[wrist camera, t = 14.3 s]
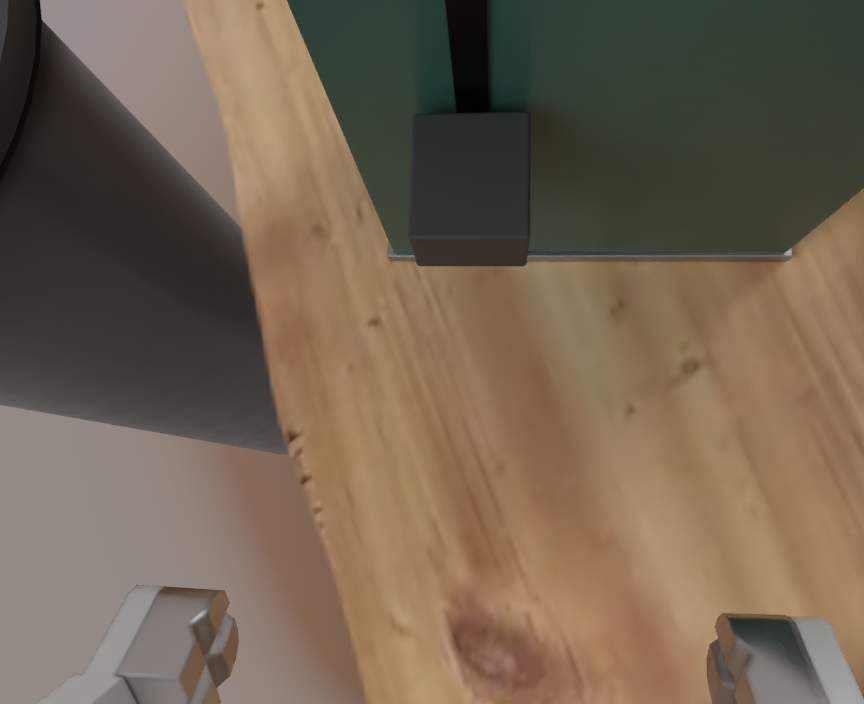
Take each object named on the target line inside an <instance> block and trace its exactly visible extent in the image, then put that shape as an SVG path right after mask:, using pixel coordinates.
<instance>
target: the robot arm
mask: <svg viewBox="0 0 864 704" xmlns="http://www.w3.org/2000/svg"><path fill="white" fill-rule="evenodd" d="M228 605H229V601H228V598H227V596H226V593H225V591H224V590H208V589H192V588H176V587H165V586H144V585H136V586H135V587H134V588H133V589H132V590H131V591H130V592H129V593H128V594H127V596H126V598H125V599H124V601H123V603H122V605H121V607H120V608H119V610H118V612H117V614H116V616H115V618H114V619H113V621H112V623H111V625H110V627H109V628H108V630H107V632H106V634H105V636H104V637H103V639H102V641H101V643H100V645H99V646H98V648H97V650H96V652H95V654H94V656H93V657H92V659H91V661H90V663H89V665H88V666H87V668H86V670H85V672H84V673H83V674H74V675H73V676H71V677H70V678H69V679H68V680H66V681H65V682H64V683H62V684H61V685H60V686H59V687H57V688H56V689H55V690H54V691H52V692H51V693H50V694H48V695H47V696H46V697H45V698H43V699H42V700H41V701H39V702H38V703H37V704H220V703H221V701H220V698H219V695H218V692H217V687H218V686H219V685H221V684H222V683H223V682H224V681H225V680H226V679H227V678H228V677H229V676H230V674H231V671H232V668H233V665H234V662H235V660H236V654H237V647H238V628H237V625H236V621H235V619H234V618H232V617H231V616H230V615H229V614H227V613H226V610H227V608H228ZM715 628H716V632H717V635H718V639H717V640H715V641H714V642H712V643H711V644H710V646H709V650H708V655H707V679H708V685H709V691H710V695H711V699H712V703H713V704H864V698H863V695H862V693H861V691H860V689H859V687H858V685H857V682H856V680H855V678H854V676H853V674H852V672H851V669H850V667H849V665H848V663H847V661H846V659H845V656H844V654H843V652H842V650H841V648H840V646H839V643H838V641H837V639H836V637H835V635H834V633H833V630H832V628H831V626H830V624H829V623H828V622H827V621H826V620H825V619H824V618H819V617H787V616H786V615H764V614H732V613H722V614H721V615H720V616H719V617H718V619H717V623H716V626H715Z"/></svg>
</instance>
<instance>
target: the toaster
mask: <svg viewBox="0 0 864 704" xmlns="http://www.w3.org/2000/svg"><path fill="white" fill-rule="evenodd" d="M287 2H288V4H289V6H290V9H291V11H292V13H293V16H294V18H295V20H296V23H297V25H298V28H299V30H300V32H301V35H302V37H303V39H304V42H305V44H306V46H307V49H308V51H309V54H310V56H311V58H312V61H313V63H314V65H315V68H316V70H317V72H318V75H319V77H320V80H321V82H322V84H323V87H324V89H325V91H326V94H327V96H328V98H329V101H330V103H331V106H332V108H333V110H334V113H335V115H336V117H337V120H338V122H339V124H340V127H341V129H342V132H343V134H344V136H345V139H346V141H347V143H348V146H349V148H350V150H351V153H352V155H353V158H354V160H355V162H356V165H357V167H358V169H359V172H360V174H361V176H362V179H363V181H364V184H365V186H366V188H367V191H368V193H369V195H370V198H371V200H372V202H373V205H374V207H375V210H376V212H377V214H378V217H379V219H380V221H381V224H382V226H383V228H384V231H385V233H386V236H387V238H388V240H389V242H388V257H389V260H390V261H416V259H415V256H414V253H413V250H412V247H411V244H410V241H409V238H408V222H409V198H410V175H411V151H412V127H413V117H414V115H415V114H434V113H484V112H529V113H530V115H531V167H530V241H529V249H528V256H527V261H704V262H786V261H788V260H789V259H790V258H791V257H792V256H793V254H792V247H793V246H794V245H795V244H796V243H798V242H799V241H800V240H801V239H802V238H804V237H805V236H806V235H807V234H808V233H810V232H811V231H812V230H813V229H815V228H816V227H817V226H818V225H819V224H821V223H822V222H823V221H824V220H825V219H827V218H828V217H829V216H830V215H832V214H833V213H834V212H835V211H836V210H838V209H839V208H840V207H841V206H842V205H844V204H845V203H846V202H847V201H848V200H850V199H851V198H852V197H853V196H855V195H856V194H857V193H858V192H859V191H861V190H862V189H863V188H864V0H287Z"/></svg>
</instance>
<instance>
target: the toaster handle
mask: <svg viewBox="0 0 864 704" xmlns="http://www.w3.org/2000/svg"><path fill="white" fill-rule="evenodd" d="M530 167H531V115H530V113H529V112H484V113H434V114H415V115H414V117H413V127H412V151H411V175H410V198H409V222H408V238H409V241H410V244H411V247H412V250H413V253H414V256H415V259H416V262H417V264H418V265H419V266H525V265H526V263H527V256H528V249H529V241H530Z"/></svg>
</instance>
